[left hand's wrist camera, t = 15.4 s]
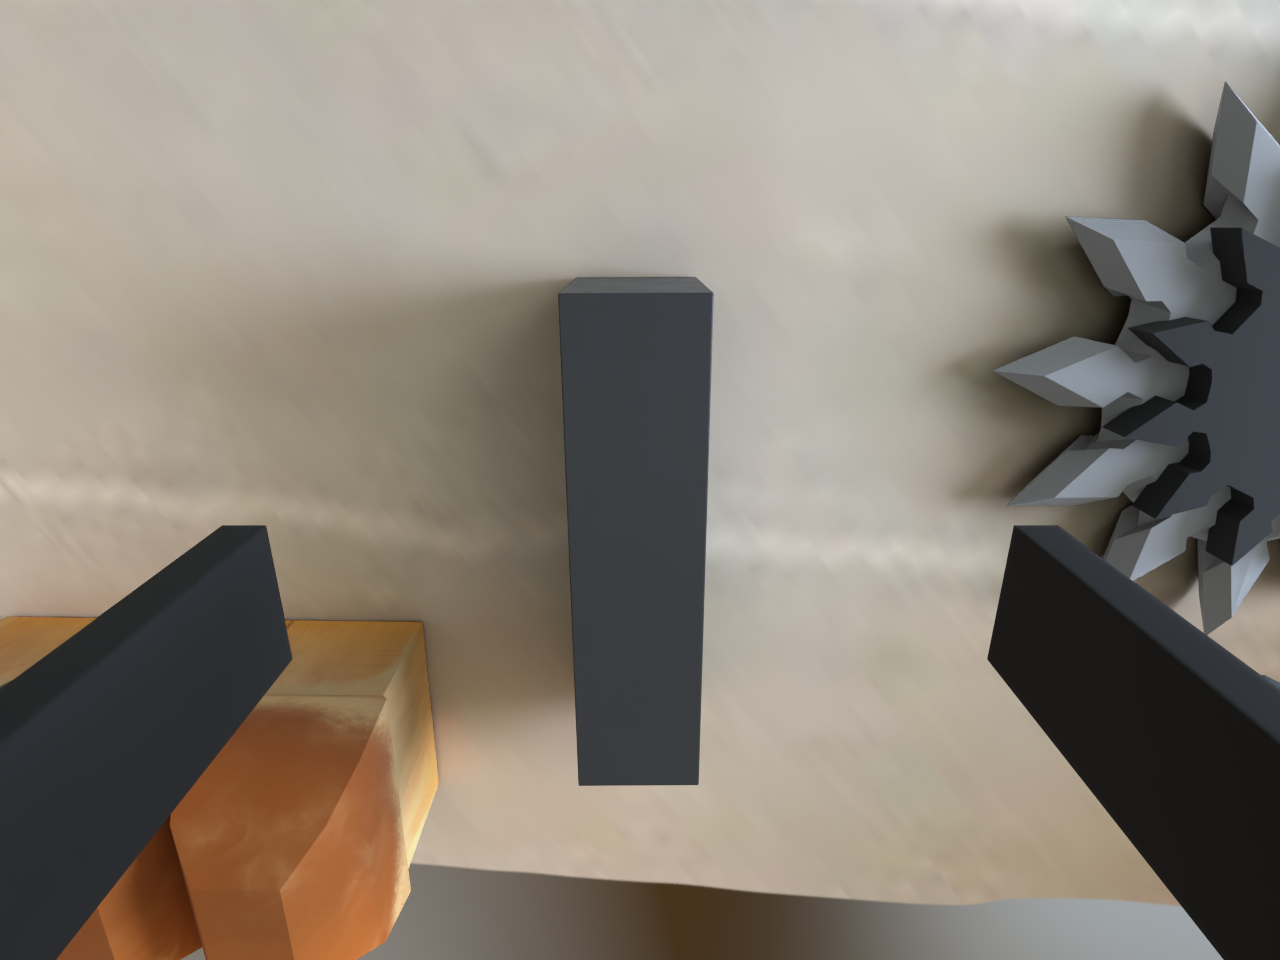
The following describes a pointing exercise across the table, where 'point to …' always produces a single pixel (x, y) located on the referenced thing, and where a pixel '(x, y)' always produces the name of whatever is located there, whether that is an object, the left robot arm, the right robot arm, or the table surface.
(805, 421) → the table surface
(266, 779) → the bread
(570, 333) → the bar
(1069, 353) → the decorative piece
